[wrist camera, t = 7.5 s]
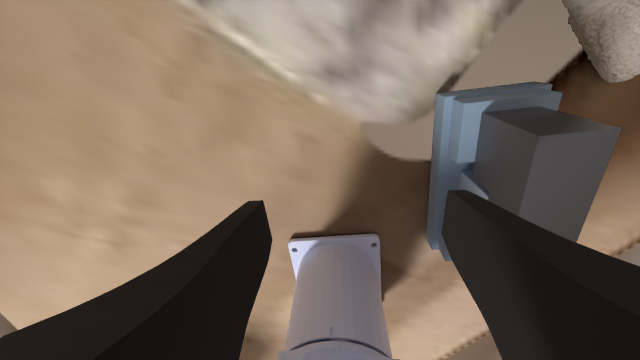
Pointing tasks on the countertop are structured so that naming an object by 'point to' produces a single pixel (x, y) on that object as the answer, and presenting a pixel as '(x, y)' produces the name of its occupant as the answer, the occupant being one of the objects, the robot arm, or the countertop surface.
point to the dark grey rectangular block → (543, 165)
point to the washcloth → (608, 35)
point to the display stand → (469, 141)
